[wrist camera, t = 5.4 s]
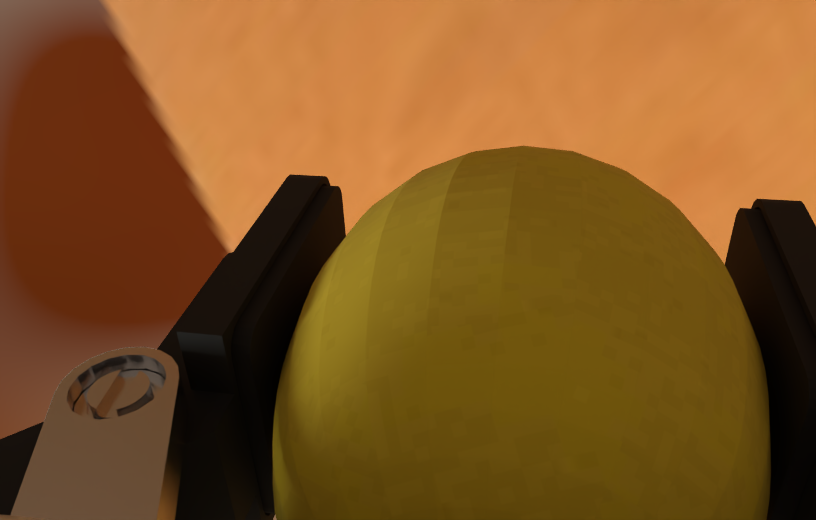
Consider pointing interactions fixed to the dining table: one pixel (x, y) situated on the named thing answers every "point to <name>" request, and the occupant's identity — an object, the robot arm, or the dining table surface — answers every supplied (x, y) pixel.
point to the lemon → (522, 357)
